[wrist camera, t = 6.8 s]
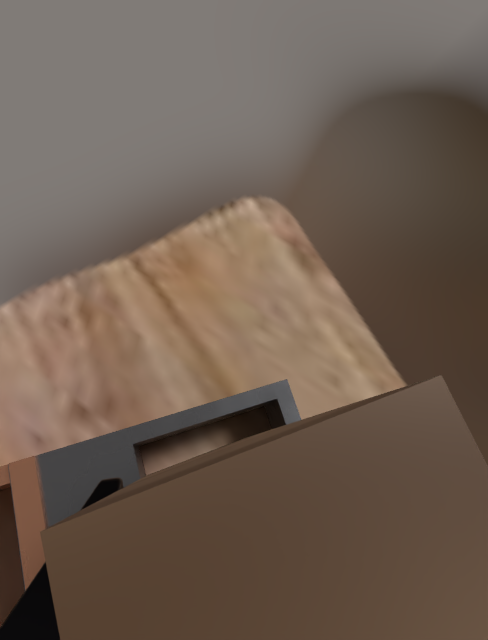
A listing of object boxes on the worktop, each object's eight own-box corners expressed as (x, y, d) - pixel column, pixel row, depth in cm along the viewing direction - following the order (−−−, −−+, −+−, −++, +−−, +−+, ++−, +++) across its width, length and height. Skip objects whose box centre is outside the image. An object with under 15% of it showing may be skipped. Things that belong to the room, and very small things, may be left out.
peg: (284, 544, 14) (685, 855, 3) (178, 594, 13) (196, 1355, 2) (246, 437, 15) (441, 374, 4) (146, 475, 14) (39, 530, 3)
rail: (327, 548, 20) (353, 565, 17) (-153, 758, 15) (-238, 835, 12) (273, 389, 22) (288, 378, 19) (-158, 522, 17) (-229, 536, 14)
